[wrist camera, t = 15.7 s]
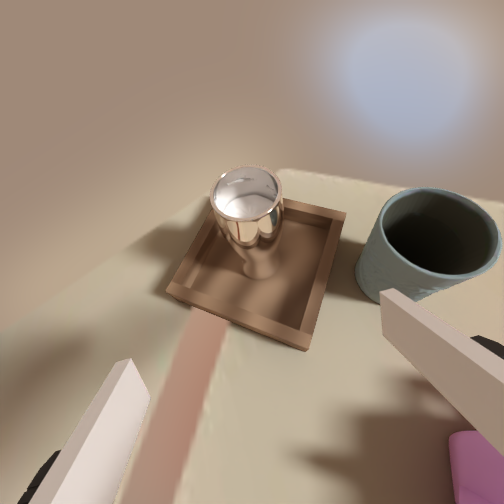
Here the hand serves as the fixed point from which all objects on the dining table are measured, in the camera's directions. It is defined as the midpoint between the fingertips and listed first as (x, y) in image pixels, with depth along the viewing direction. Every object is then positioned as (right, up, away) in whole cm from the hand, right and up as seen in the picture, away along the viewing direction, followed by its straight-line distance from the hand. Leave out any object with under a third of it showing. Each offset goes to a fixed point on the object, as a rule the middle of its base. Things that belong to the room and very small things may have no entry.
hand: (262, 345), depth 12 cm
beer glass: (+1, +4, +22) cm, 22 cm away
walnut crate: (+1, +3, +23) cm, 23 cm away
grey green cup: (+18, +2, +20) cm, 27 cm away
